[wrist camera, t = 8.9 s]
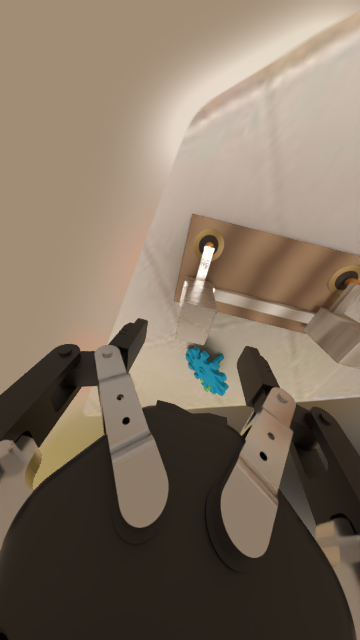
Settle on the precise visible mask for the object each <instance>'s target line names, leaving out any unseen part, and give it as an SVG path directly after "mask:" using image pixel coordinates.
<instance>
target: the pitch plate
mask: <svg viewBox="0 0 360 640" xmlns="http://www.w3.org/2000/svg"><path fill="white" fill-rule="evenodd" d="M208 242H211V243H212V244H213V246H214V247H213V248H214V252H213V256H212V259H211V262H210V265H209V269H208V272H207V275H206V279H205V281H209V282H213V283H214V284H215V291H214V297H215V302H216V307H217V312H221V313H225V314H229V315H233V316H237V317H241V318H245V319H249V320H253V321H257V322H261V323H265V324H269V325H273V326H277V327H281V328H285V329H289V330H293V331H297V332H301V333H305V334H308V335H309V336H310V337H311V338H312V339H313V340H314V341H315V342H316V343H317V344H318V345H319V346H320V347H321V348H322V349H323V350H324V351H325V352H326V353H327V354H328V355H329V356H330V357H331V358H332V359H334V360H335V361H336V362H337V363H338V364H342V365H346V366H350V367H354V368H358V369H360V323H358V322H356V321H355V320H353V319H351V318H350V317H348V316H346V315H344V314H343V312H344V311H345V310H346V309H347V308H348V307H349V305H350V304H351V303H352V302H353V301H354V300H355V298H356V297H357V296H358V295H359V294H360V256H356V255H352V254H348V253H345V252H341V251H337V250H333V249H329V248H325V247H321V246H317V245H313V244H309V243H305V242H301V241H297V240H293V239H290V238H286V237H282V236H278V235H274V234H270V233H266V232H262V231H258V230H254V229H250V228H246V227H242V226H238V225H235V224H231V223H227V222H223V221H219V220H215V219H211V218H207V217H203V216H199V215H195V214H192V218H191V223H190V228H189V232H188V237H187V242H186V246H185V251H184V256H183V260H182V265H181V270H180V274H179V279H178V284H177V288H176V293H175V298H174V301H177V302H180V298H181V294H182V289H183V285H184V281H185V278H186V276H189V277H193V278H196V276H197V273H198V269H199V265H200V262H201V258H202V254H203V251H204V247H205V245H206V243H208Z"/></svg>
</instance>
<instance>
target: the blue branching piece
mask: <svg viewBox="0 0 360 640" xmlns="http://www.w3.org/2000/svg"><path fill="white" fill-rule="evenodd" d="M199 352H200V350H199V348H197V347H194V348H190V349H189V350H187V353H188V355H187V356H186V359H187V360H188V361H189V362H190V363H189V364H188V365H189V368H190V369H192V370H194V371H195V373H194V376H195V377H196V379H198V378H200V381H201V382H202V383H201V384H202V385H203V386H204V390H205V391H206V392H208V391H209V390H210V391H211V392H212V393H213V394H216V393H218V394H219V395H221V396H223V395H224V394H225V391H226V390H227V389H228V387H229V386H228V385H227V384H226V383H224V381H225V380H226V375H225V374H224V373H221V372H219V371H218V370H217V369H218V368H219V367H220V366H219V364H218V363H219V362H220V361H221V360H222V359H223V358H224V357H223V355H221V354H220V355H219V356H218V357H216V358H215V359H214V360H213V361H212V362H208V361H207V360H206V359H207V358H208V357H209V354H208V353H207V352H206V351H205V350H204V351H203V352H202V353H201V354H200V355H201V356H200V355H199Z"/></svg>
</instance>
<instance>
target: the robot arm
mask: <svg viewBox="0 0 360 640" xmlns="http://www.w3.org/2000/svg"><path fill="white" fill-rule="evenodd" d="M147 324H148V321H147V320H144V319H140V318H138V319H137V320H136V322H135V323H128V324H126V325H124V327H123V328H122V329H121V330H120V331H119V333H118V334H117V335H116V336H115V337H114V339H113V340H112V341H111V342H110V343H109V344H108V345H105V346H102V347H100V348H98V349H97V350H96V351H80V348H79V347H78V346H77V345H74V344H65V345H61V346H58V347H56V348H55V349H53V350H52V351H51V352H50V353H49V354H47V355H46V356H45V357H44V358H43V359H42V360H41V361H39V362H38V363H37V364H36V365H35V366H34V367H32V368H31V369H30V370H29V371H28V372H27V373H25V374H24V375H23V376H22V377H21V378H20V379H19V380H17V381H16V382H15V383H14V384H13V385H11V386H10V387H9V388H8V389H7V390H6V391H5V392H4V393H2V394H1V395H0V549H1V550H0V640H360V456H359V455H358V453H357V451H356V450H355V448H354V447H353V445H352V444H351V442H350V441H349V439H348V438H347V436H346V435H345V433H344V432H343V430H342V429H341V427H340V426H339V424H338V423H337V421H336V420H335V419H334V418H333V417H332V416H331V415H330V414H329V413H327V412H326V411H325V410H323V409H321V408H319V407H312V408H311V409H310V410H307V409H305V408H303V407H301V406H299V405H297V404H296V403H295V401H294V399H293V398H292V396H291V395H290V394H289V393H287V392H286V391H285V390H283V389H281V388H280V387H279V385H278V383H277V380H276V378H275V376H274V374H273V373H272V370H271V368H270V366H269V364H268V362H267V361H266V360H265V359H264V358H263V357H262V356H260V353H259V351H258V349H257V348H253V347H249V346H246V347H245V348H244V350H243V352H242V354H241V355H240V357H239V359H238V362H237V369H238V373H239V377H240V381H241V385H242V389H243V393H244V397H245V401H246V405H247V406H249V407H253V408H254V411H253V413H252V414H251V416H250V418H249V419H248V421H247V423H246V425H245V426H244V428H243V430H242V431H241V433H240V434H239V433H238V432H237V431H236V430H235V429H234V428H232V427H231V426H229V425H228V424H227V418H226V417H222V416H218V415H214V414H210V413H204V414H203V413H202V414H201V413H200V414H192V413H189V412H188V411H186V410H184V409H182V408H180V407H179V406H177V405H175V404H171V403H168V402H164V401H160V400H157V404H156V405H154V406H147V407H143V408H141V405H140V402H139V399H138V396H137V393H136V390H135V387H134V384H133V381H132V378H131V375H130V373H128V372H129V370H130V368H131V366H132V364H133V363H134V361H135V359H136V357H137V355H138V353H139V351H140V349H141V348H142V346H143V344H144V342H145V338H146V332H147ZM83 386H97V387H98V394H99V401H100V408H101V416H102V424H103V431H104V435H103V436H102V437H100V438H99V439H98V440H96V441H95V442H94V443H92V444H91V445H90V446H89V447H87V448H86V449H84V450H83V451H82V452H80V453H79V454H78V455H77V456H75V457H74V458H73V459H71V460H70V461H69V462H67V463H66V464H65V465H63V466H62V467H61V468H60V469H58V470H57V471H55V472H54V473H53V474H51V475H50V476H49V477H47V478H46V479H45V480H44V481H43V482H42V483H41V484H40V485H39V486H38V487H37V488H36V489H35V490H33V480H34V477H35V475H36V473H37V471H38V469H39V467H40V464H41V461H42V454H41V452H40V450H39V447H40V445H41V444H42V443H43V441H44V440H45V438H46V437H47V436H48V434H49V433H50V431H51V430H52V428H53V427H54V426H55V424H56V423H57V421H58V420H59V418H60V417H61V416H62V414H63V413H64V411H65V410H66V408H67V407H68V406H69V404H70V403H71V401H72V400H73V399H74V397H75V396H76V394H77V393H78V392H79V390H80V389H81V387H83ZM318 446H320V447H321V449H322V451H323V453H324V455H325V457H326V459H327V461H328V471H326V469H325V467H324V465H323V463H322V461H321V459H320V457H319V454H318V452H317V450H316V447H318ZM289 449H290V452H291V455H292V458H293V460H294V463H295V466H296V469H297V472H298V474H299V477H300V480H301V483H302V486H303V489H304V491H305V494H306V497H307V500H308V503H309V506H310V509H311V511H312V514H313V517H314V520H315V522H316V526H317V527H316V539H317V542H316V540H315V539H314V537H313V536H312V535H311V533H310V532H309V530H308V529H307V527H306V526H305V525H304V523H303V522H302V520H301V519H300V517H299V516H298V515H297V513H296V512H295V510H294V509H293V507H292V506H291V505H290V503H289V502H288V501H287V499H286V497H285V496H284V495H283V493H282V492H281V491H280V489H279V484H280V481H281V477H282V473H283V469H284V465H285V462H286V458H287V454H288V450H289Z"/></svg>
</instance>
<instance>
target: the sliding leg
mask: <svg viewBox="0 0 360 640" xmlns="http://www.w3.org/2000/svg"><path fill="white" fill-rule="evenodd" d="M213 247H214V246H213V244H212V243H211V242H208V243H206V245H205V247H204V251H203V254H202V258H201V262H200V265H199V269H198V273H197V276H196V278H193V277H189V276H186V278H185V281H184V285H183V289H182V294H181V298H180V302H179V306H181V307H182V310H181V314H180V318H179V322H178V326H177V330H176V334H175V339H179V340H184V341H188V342H192V343H196V344H200V345H204V344H205V341H206V339H207V336H208V333H209V331H210V328H211V326H212V323H213V320H214V318H215V315H216V313H217V307H216V302H215V297H214V291H215V284H214V283H213V282H209V281H205V279H206V275H207V272H208V269H209V265H210V262H211V259H212V256H213V252H214V248H213Z"/></svg>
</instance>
